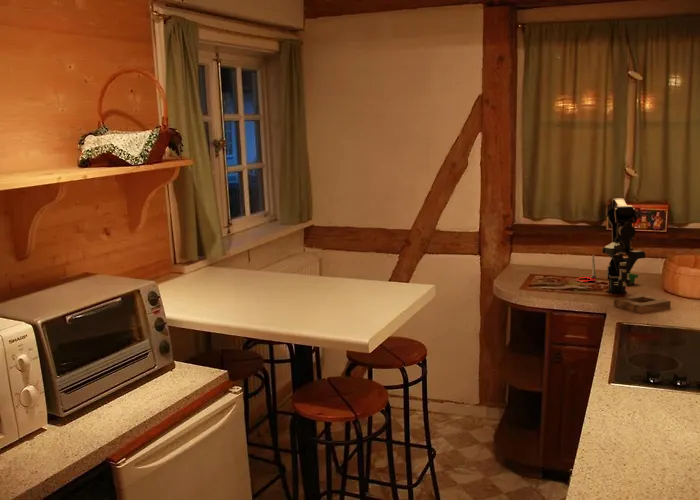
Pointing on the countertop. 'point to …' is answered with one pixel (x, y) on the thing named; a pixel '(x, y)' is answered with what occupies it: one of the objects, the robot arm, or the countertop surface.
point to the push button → (623, 275)
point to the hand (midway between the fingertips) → (622, 272)
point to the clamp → (632, 277)
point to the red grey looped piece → (592, 272)
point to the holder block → (642, 303)
